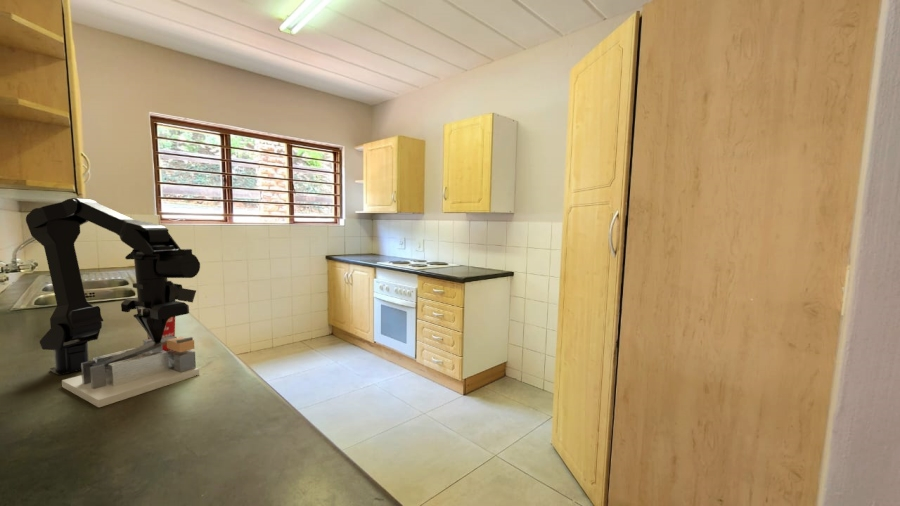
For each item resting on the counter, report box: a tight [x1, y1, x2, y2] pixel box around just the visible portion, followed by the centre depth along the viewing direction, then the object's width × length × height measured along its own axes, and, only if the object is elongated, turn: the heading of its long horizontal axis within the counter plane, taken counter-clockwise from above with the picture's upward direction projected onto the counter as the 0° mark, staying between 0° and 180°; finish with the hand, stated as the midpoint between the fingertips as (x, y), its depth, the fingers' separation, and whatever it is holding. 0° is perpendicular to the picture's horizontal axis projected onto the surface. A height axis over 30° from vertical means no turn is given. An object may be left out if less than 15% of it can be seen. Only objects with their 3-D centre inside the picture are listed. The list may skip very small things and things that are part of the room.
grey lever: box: [91, 335, 178, 368], centre depth 83 cm, size 3×15×1 cm, turn 152°
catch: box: [167, 336, 195, 352], centre depth 85 cm, size 6×3×3 cm, turn 62°
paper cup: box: [146, 316, 176, 351], centre depth 103 cm, size 8×8×14 cm
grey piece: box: [80, 338, 197, 389], centre depth 83 cm, size 18×16×5 cm
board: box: [61, 367, 200, 408], centre depth 82 cm, size 19×18×2 cm
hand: (157, 342), depth 86 cm, fingers closed, pressing on grey lever
